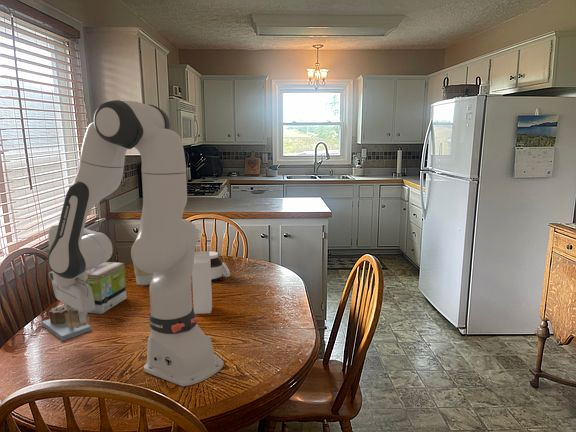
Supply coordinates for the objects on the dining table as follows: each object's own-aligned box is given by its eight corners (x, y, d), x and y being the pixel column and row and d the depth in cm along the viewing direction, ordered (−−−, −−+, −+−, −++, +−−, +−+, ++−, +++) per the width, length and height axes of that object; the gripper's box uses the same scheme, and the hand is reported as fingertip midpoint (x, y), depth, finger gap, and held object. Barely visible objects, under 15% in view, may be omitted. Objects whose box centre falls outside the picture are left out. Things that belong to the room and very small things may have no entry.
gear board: (91, 330, 136) (89, 311, 134) (62, 340, 129) (60, 321, 128) (70, 316, 146) (68, 299, 145) (42, 325, 139) (40, 307, 138)
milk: (210, 313, 149) (208, 253, 144) (193, 314, 148) (190, 254, 144) (212, 306, 154) (210, 249, 150) (195, 307, 154) (193, 249, 149)
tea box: (103, 314, 148) (99, 274, 145) (78, 312, 150) (74, 273, 147) (127, 298, 162) (124, 261, 159) (104, 296, 164) (101, 260, 161)
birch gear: (92, 322, 127) (90, 310, 126) (71, 330, 123) (69, 317, 122) (83, 317, 131) (81, 306, 130) (63, 324, 127) (61, 312, 126)
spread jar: (196, 279, 183) (195, 254, 181) (214, 272, 192) (213, 248, 190) (217, 284, 177) (216, 258, 174) (234, 277, 186) (233, 251, 184)
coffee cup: (160, 281, 181) (158, 247, 178) (143, 287, 173) (141, 252, 170) (146, 277, 185) (144, 244, 183) (129, 283, 178) (126, 249, 175)
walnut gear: (75, 318, 141) (74, 307, 140) (57, 325, 136) (56, 314, 135) (64, 315, 144) (63, 304, 143) (46, 321, 139) (45, 310, 138)
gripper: (97, 278, 120) (103, 323, 122) (67, 266, 133) (73, 307, 135) (74, 285, 115) (81, 331, 118) (46, 272, 128) (53, 314, 131)
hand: (77, 318), depth 127 cm, fingers closed on birch gear, 6 cm apart
